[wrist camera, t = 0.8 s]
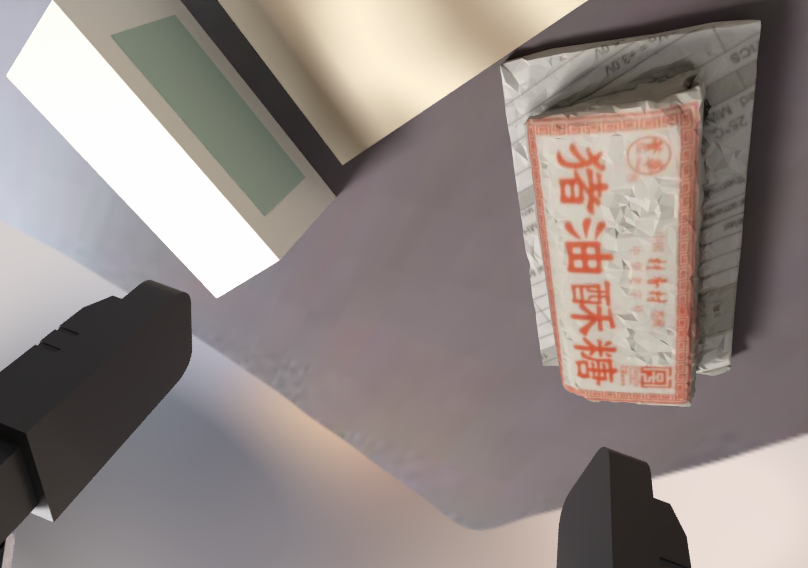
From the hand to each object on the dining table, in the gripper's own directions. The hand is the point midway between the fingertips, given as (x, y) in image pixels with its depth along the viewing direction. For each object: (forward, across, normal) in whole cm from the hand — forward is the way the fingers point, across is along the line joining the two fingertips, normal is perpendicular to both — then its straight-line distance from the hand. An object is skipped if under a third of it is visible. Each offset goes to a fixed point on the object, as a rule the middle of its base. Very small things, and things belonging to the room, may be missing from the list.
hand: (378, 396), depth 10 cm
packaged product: (+20, -8, +4) cm, 22 cm away
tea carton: (+21, +15, +6) cm, 26 cm away
